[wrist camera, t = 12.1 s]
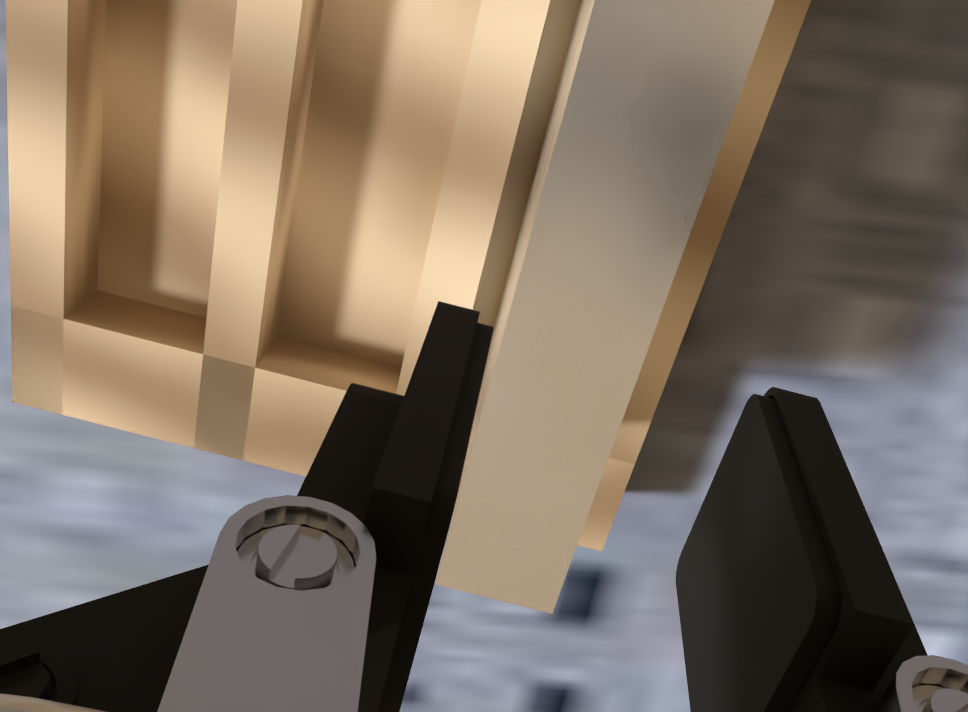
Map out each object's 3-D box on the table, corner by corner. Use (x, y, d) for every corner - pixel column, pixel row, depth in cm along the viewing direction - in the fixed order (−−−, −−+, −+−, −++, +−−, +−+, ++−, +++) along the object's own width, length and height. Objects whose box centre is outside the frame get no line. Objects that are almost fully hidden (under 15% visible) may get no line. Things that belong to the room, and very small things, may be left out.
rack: (75, -531, 20) (-14, -600, 17) (893, -310, 20) (945, -341, 17) (63, 355, 30) (6, 407, 27) (601, 491, 30) (601, 557, 27)
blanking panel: (623, -161, 21) (644, -180, 13) (735, -131, 21) (829, -130, 13) (483, 366, 28) (434, 584, 19) (567, 388, 28) (556, 614, 19)
